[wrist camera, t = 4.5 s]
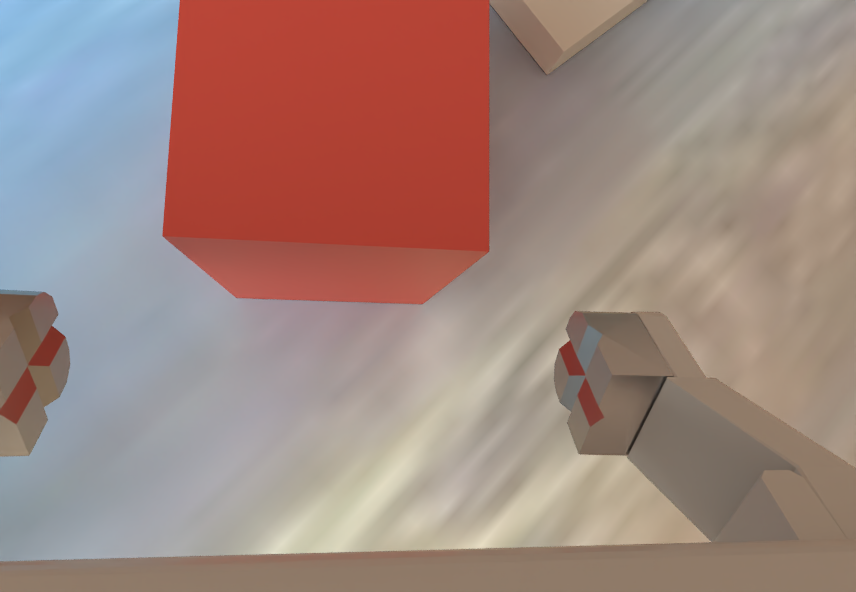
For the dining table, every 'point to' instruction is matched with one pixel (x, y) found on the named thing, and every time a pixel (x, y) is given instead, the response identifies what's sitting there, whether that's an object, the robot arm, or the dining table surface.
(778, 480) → the robot arm
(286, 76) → the red rectangular block
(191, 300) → the dining table surface
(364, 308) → the dining table surface
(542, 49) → the breaker board
